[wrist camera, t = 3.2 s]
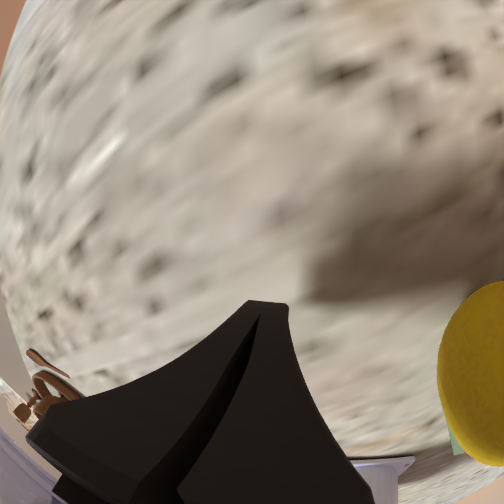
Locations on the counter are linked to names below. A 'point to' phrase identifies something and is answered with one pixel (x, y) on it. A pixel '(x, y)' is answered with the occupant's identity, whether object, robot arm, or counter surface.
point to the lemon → (475, 374)
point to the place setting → (44, 390)
